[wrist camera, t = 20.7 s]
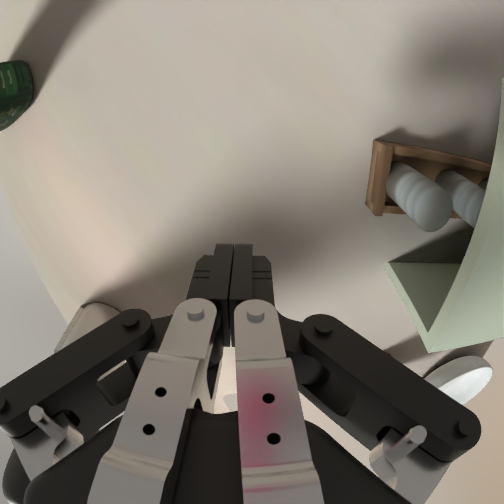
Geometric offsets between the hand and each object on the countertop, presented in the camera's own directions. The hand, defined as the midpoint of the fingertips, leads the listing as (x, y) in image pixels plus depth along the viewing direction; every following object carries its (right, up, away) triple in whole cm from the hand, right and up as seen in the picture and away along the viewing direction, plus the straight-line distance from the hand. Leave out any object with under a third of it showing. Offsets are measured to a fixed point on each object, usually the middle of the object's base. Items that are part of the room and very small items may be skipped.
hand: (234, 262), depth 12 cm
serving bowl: (+43, -26, +36) cm, 62 cm away
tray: (+22, +8, +14) cm, 28 cm away
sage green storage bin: (+26, +8, +14) cm, 31 cm away
